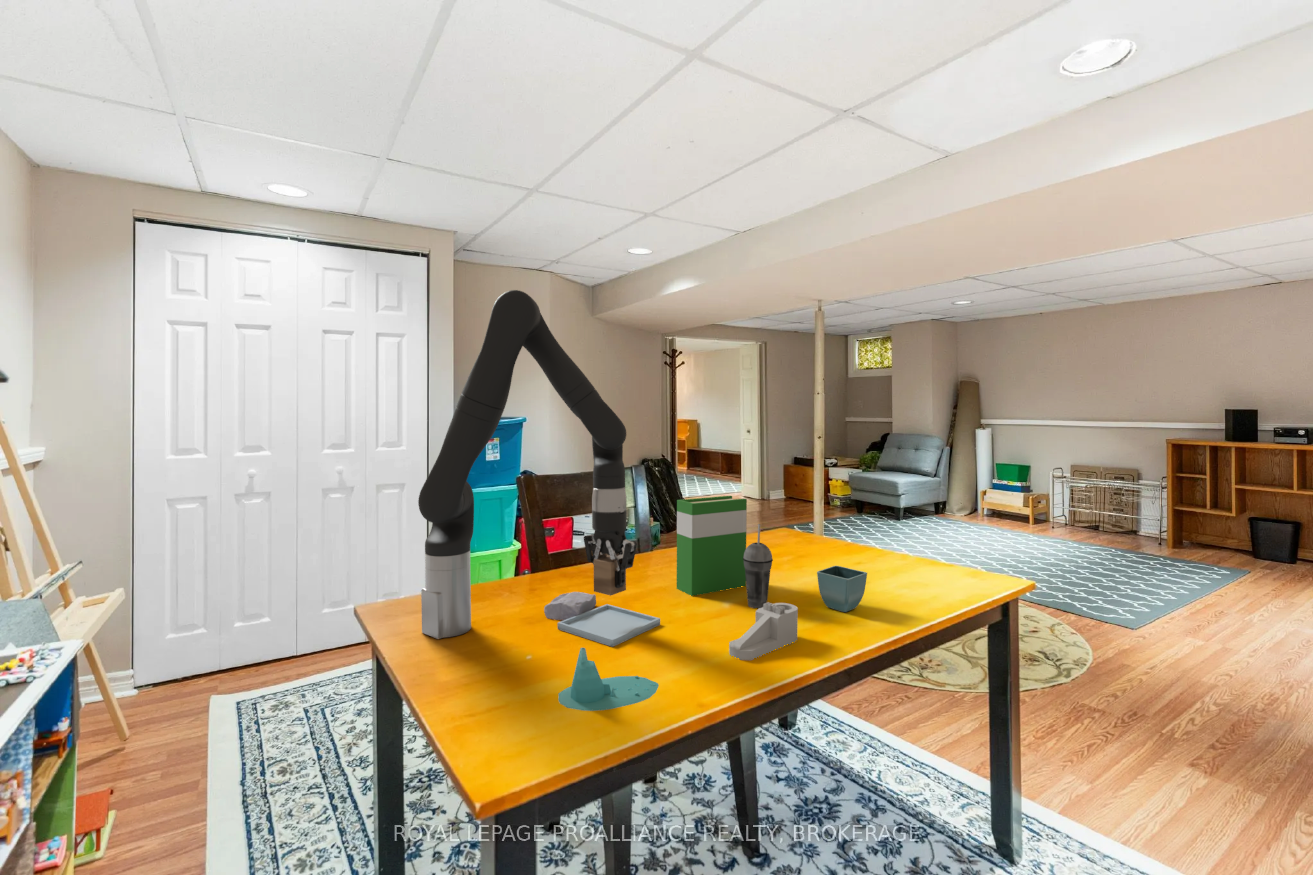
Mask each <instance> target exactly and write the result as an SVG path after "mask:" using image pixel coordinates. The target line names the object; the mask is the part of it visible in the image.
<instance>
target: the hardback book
mask: <svg viewBox="0 0 1313 875" xmlns="http://www.w3.org/2000/svg"><path fill="white" fill-rule="evenodd" d="M747 502H748V501H747V498H736V499H734V498H733V496H732V495H723V496H722V495H721V496H710V497H698V498H697V497H696V498H695V497H694V498H685V499H677V500H676V589H677V590H678V591H681V592H682V593H684V592H685V593H684V594H687V595H688V596H690V595H691V597H694V596H693V595H695V596H700V594H701V595H705V594H711V593H710V592H712V593H716V592H721V591H720V590H723V591H727V590H726V589H729V590H731V589H730V588H734V589H738V588H737V587H740V588H742V587H741V586H745V587H746V575H745V567H744V560H743V557H744V552H745V550H746V548H747V518H748V517H747V509H748V508H747V505H748V504H747Z"/></svg>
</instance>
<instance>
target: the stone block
mask: <svg viewBox="0 0 1313 875" xmlns="http://www.w3.org/2000/svg"><path fill="white" fill-rule="evenodd" d="M596 596H597V595H596V594H595V593H593V594H590V593H586V592H580V591H572V592H566V593H562V594H559V595H558V596H556V597H555V598H553V599H552V600H551V601H550V602H549V603H548V604H546V605H545V606H543V607H544V608H543V611H544V615H545V617H546V618H545V619H551V620H559V621H563V620H566V619H569V618H571V617H574V616H577V615H579V614H582V613H585V612H587V611H590V610H593V609H595V607H596V606H597V597H596Z"/></svg>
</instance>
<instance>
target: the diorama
mask: <svg viewBox="0 0 1313 875" xmlns="http://www.w3.org/2000/svg"><path fill="white" fill-rule="evenodd" d="M586 649H587V648H585V647H580V649H579V653H578V656H577V661H576V665H575V670H574V674H573V677H572V683H571V686H569V687H568V686H567V688H564V689H563V690H562V691H560V692H559V693H558V695H557V696H558V703H559V704H560V705H562V706H564V707H565V708H566V709H572V710H577V711H578V710H579V711H586V712H594V711H605V710H606V711H607V710H613V709H617V708H622V707H626V706H631V705H634V704H638V703H641V702H644V701H646V700H648V699H650V698H652V697H653V696H654V695H655V694H656V693H657V691H658V688H659V685H660V684H659V683H658V682H656V681H653V680H651V679H650V678H647V677H645V676H644V677H643V676H638V675H636V676H635V675H628V676H627V675H624V676H623V675H622V676H613V677H611V676H610V677H605V678H601V676H600V673H599V670H598V668H597V666H596V663H595V660H594V661H593V660H588V655H587V650H586Z"/></svg>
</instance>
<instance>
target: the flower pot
mask: <svg viewBox="0 0 1313 875" xmlns="http://www.w3.org/2000/svg"><path fill="white" fill-rule="evenodd" d="M816 574H817V575H816V576H817V582H818V590H819V594H820V598H821V600H822V601H823V603H824V605H825V607H826V608H829V609H833V610H835V611H839V612H843V613H848V612H850V611H851V610H854V609H857V607H858V606H859V604H860V603H861V602H862V599H863V597H864V594H865V590H866V584H867V577H868V572H865V571H862V570H858V569H854V568H853V569H852V568H848V567H844V566H840V565H832V566H830V567H827V568H824V569H821V570H817V571H816Z"/></svg>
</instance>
